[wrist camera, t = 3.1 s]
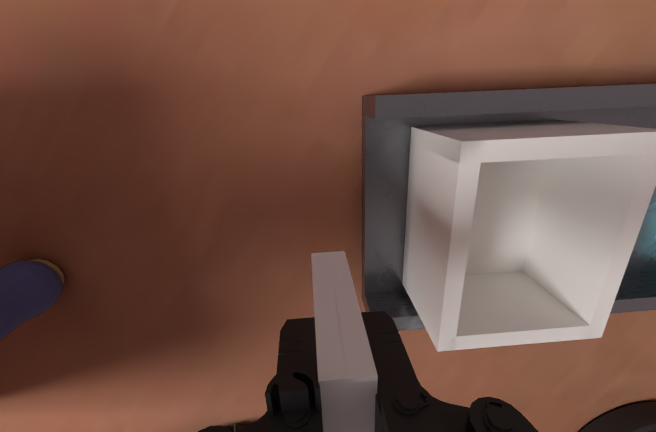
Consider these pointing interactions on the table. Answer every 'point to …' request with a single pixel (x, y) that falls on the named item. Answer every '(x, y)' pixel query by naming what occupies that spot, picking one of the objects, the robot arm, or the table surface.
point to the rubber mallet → (27, 291)
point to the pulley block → (235, 427)
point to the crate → (522, 228)
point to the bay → (474, 108)
